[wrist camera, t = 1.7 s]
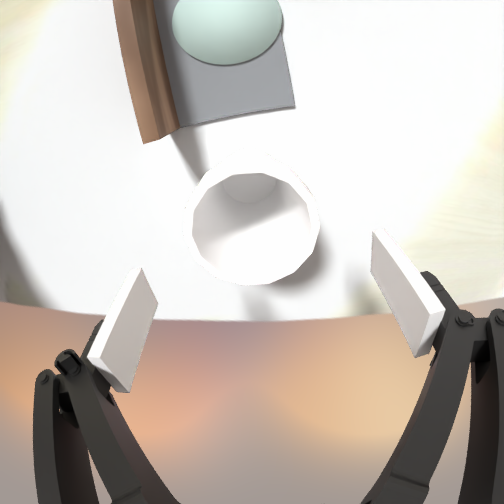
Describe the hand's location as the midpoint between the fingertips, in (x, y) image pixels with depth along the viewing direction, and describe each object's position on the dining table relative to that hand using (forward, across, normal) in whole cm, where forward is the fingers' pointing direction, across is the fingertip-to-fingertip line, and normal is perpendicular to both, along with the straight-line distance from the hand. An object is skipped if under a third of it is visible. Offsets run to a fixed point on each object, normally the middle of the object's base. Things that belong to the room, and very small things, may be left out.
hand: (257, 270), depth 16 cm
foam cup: (+18, 0, 0) cm, 18 cm away
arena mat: (+18, 0, +18) cm, 25 cm away
